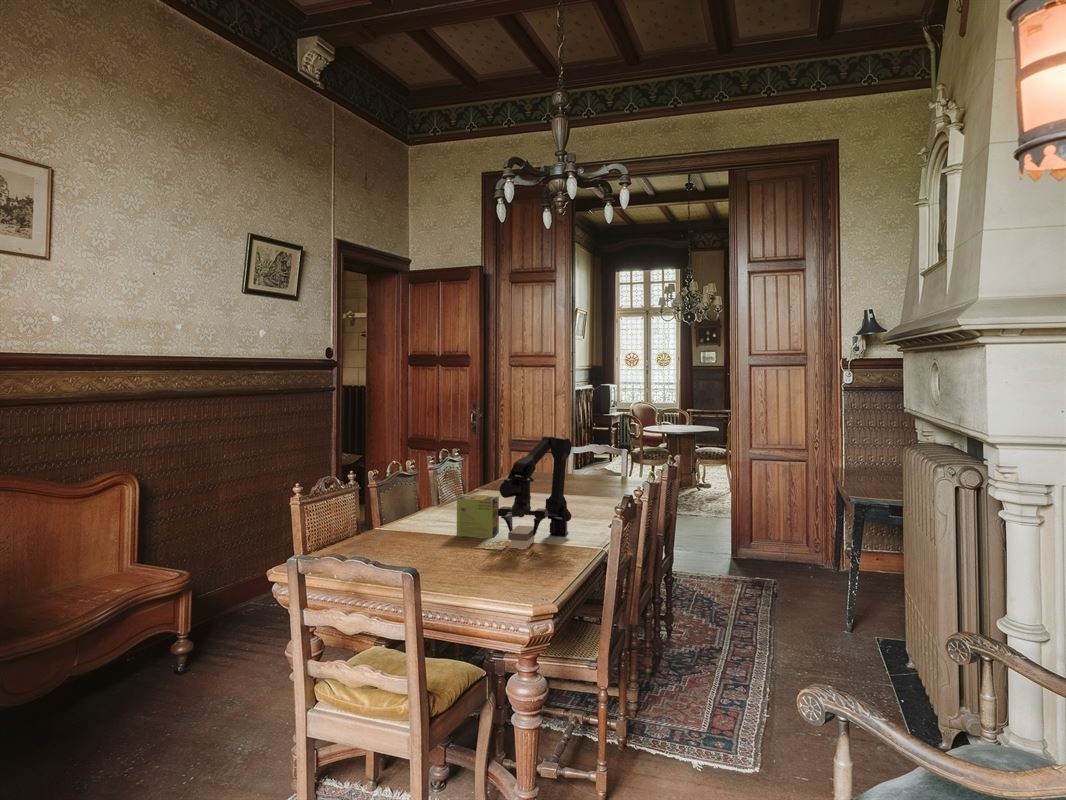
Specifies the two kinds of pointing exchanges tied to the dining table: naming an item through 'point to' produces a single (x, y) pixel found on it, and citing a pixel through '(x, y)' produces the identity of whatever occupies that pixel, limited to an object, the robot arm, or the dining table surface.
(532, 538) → the box
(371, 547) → the dining table surface
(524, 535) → the lid
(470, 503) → the protein box
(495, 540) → the mat
